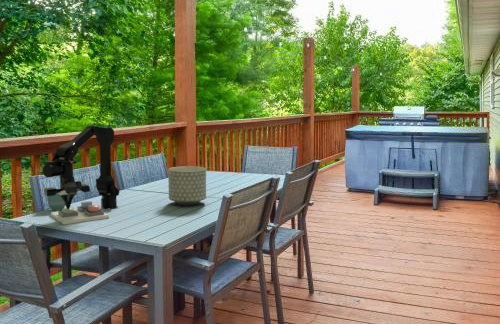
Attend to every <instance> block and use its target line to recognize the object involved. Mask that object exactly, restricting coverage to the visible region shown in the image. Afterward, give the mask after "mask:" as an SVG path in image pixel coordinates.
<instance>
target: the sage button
mask: <svg viewBox="0 0 500 324" xmlns="http://www.w3.org/2000/svg"><path fill="white" fill-rule="evenodd" d="M61 211H62V213H63V214H66V213H73V212H74V208H73V207H70V208H69V209H67V208H66V207H64V208H63V209H62V210H61Z"/></svg>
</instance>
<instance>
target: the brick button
mask: <svg viewBox="0 0 500 324" xmlns="http://www.w3.org/2000/svg"><path fill="white" fill-rule="evenodd" d="M99 209H100V205H98V204H92V205H91V206H88V212H89V213H93V212H99Z"/></svg>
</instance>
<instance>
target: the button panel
mask: <svg viewBox="0 0 500 324" xmlns="http://www.w3.org/2000/svg"><path fill="white" fill-rule="evenodd" d="M50 216H51V217H52V218H54V219H55V220H57V221H58V222H59V223H61V224H62V225H70V224H76V223H82V222H83V221H84V222H89V221H98V220H105V219H109V218H110V216H109V214H108V213H106V212H105V211H104V210H102V209H100V208H99V212H93V213H89V212H88V208H86V209H82V208H81V205H80V206H77V207H76V209H74V212H73V213H66V214H63V213H62V210H57V211H52V212H50ZM84 222H83V223H84Z"/></svg>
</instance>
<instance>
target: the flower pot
mask: <svg viewBox="0 0 500 324" xmlns="http://www.w3.org/2000/svg"><path fill="white" fill-rule="evenodd" d="M66 194H67V193H66ZM46 199H47V204H48V206H49V208H50V210H51V211H52V212H56V211H62V209H63V208H66V205H65V203H64V201H63V199H62V197H61V196H59V195H58V193H57V194H56V195H54V196H46Z"/></svg>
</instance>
